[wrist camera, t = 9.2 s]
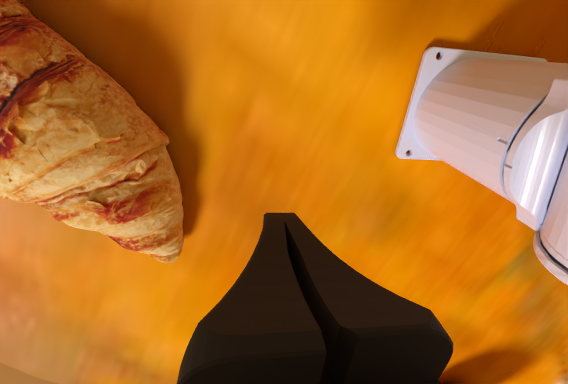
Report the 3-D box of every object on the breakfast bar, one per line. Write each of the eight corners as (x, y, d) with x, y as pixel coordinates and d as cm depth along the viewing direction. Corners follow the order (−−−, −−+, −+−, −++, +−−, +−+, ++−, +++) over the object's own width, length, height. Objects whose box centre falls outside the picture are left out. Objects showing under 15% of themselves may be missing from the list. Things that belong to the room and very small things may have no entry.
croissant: (213, 210, 27) (247, 242, 21) (118, 279, 24) (123, 342, 18) (34, -46, 17) (-12, -144, 10) (-176, 16, 14) (-433, -69, 7)
